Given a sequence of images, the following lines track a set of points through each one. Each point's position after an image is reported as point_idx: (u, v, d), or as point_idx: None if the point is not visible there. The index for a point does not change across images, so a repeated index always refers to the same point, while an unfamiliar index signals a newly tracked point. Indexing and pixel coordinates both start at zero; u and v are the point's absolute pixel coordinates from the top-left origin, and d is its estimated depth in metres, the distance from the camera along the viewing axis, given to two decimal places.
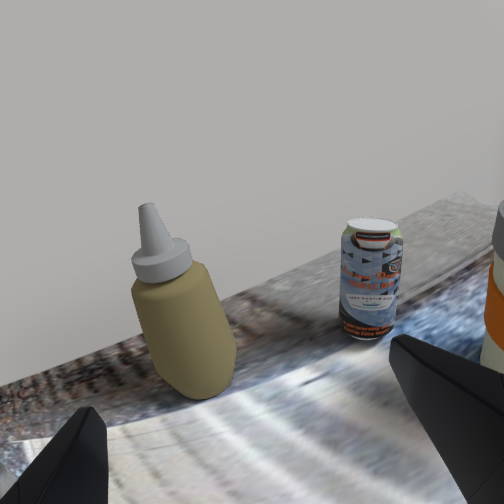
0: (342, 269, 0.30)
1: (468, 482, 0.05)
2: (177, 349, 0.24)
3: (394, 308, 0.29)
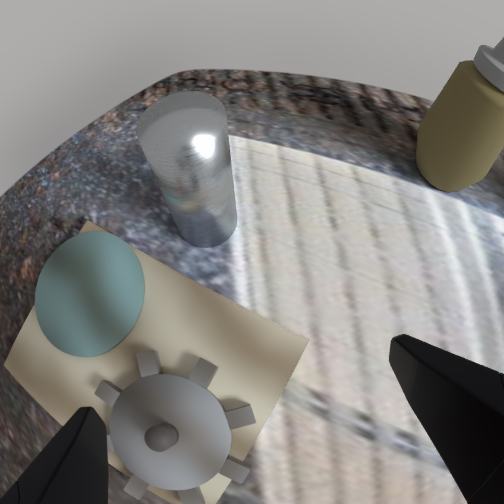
0: None
1: (468, 482, 0.05)
2: (468, 143, 0.20)
3: None
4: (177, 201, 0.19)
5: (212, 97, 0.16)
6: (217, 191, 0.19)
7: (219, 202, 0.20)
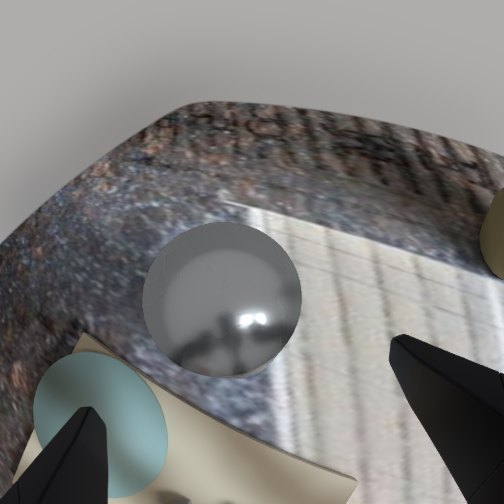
0: None
1: (468, 482, 0.05)
2: None
3: None
4: None
5: (272, 243, 0.10)
6: (270, 362, 0.13)
7: (268, 364, 0.14)
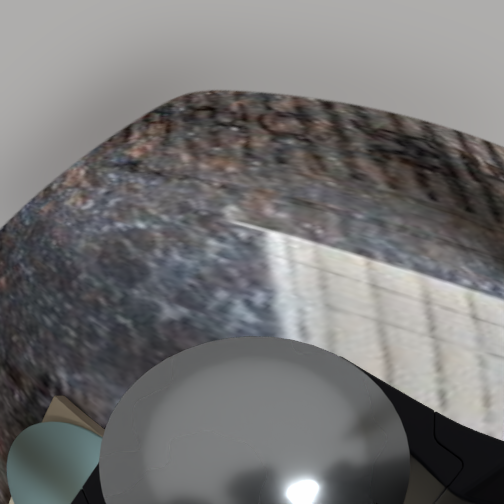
0: None
1: None
2: None
3: None
4: None
5: (362, 382, 0.04)
6: None
7: None
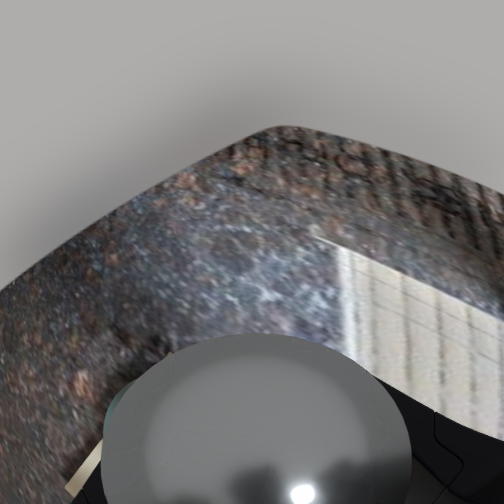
0: None
1: None
2: None
3: None
4: None
5: (364, 379, 0.04)
6: None
7: None
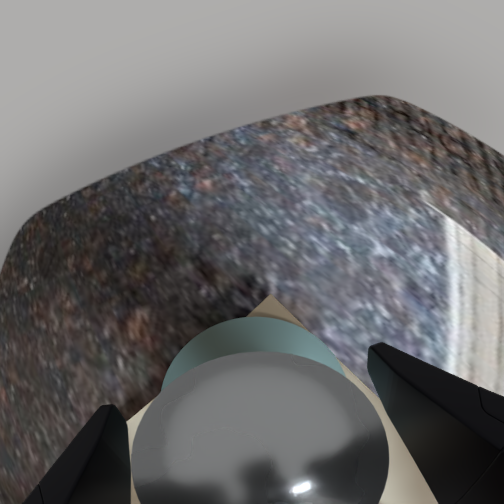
0: None
1: (445, 496, 0.05)
2: None
3: None
4: None
5: (349, 388, 0.05)
6: None
7: None
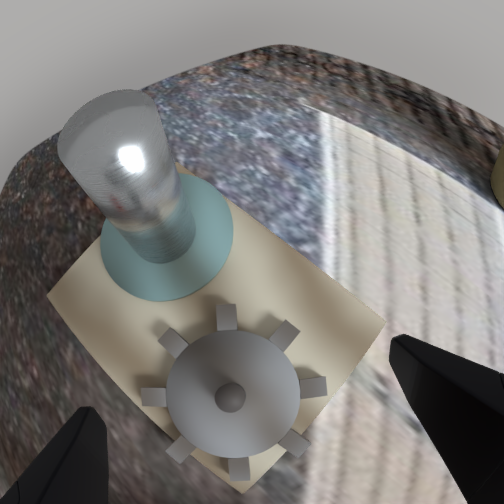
0: None
1: (468, 482, 0.05)
2: None
3: None
4: (117, 221, 0.15)
5: (142, 94, 0.13)
6: (161, 204, 0.16)
7: (166, 216, 0.17)
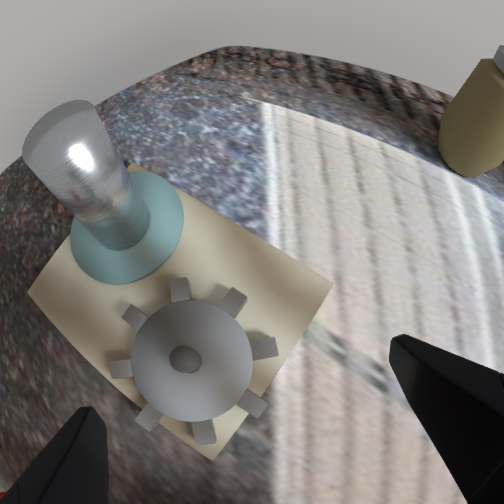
0: None
1: (468, 482, 0.05)
2: (485, 129, 0.21)
3: None
4: (76, 210, 0.17)
5: (85, 102, 0.15)
6: (109, 192, 0.17)
7: (116, 202, 0.18)
